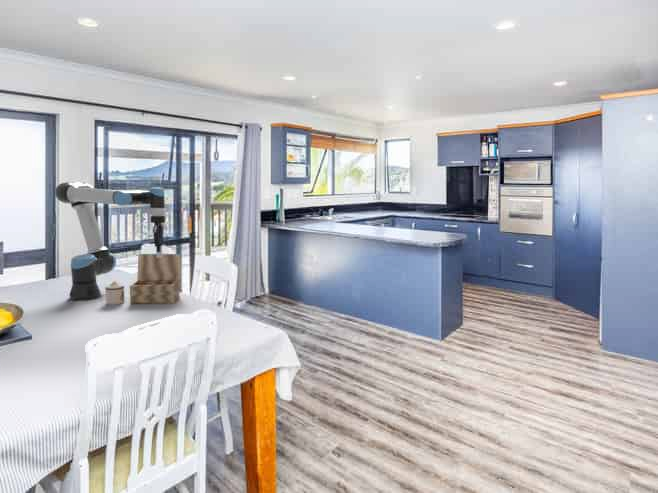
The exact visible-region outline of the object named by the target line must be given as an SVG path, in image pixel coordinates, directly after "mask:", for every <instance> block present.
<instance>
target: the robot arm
mask: <svg viewBox="0 0 658 493" xmlns="http://www.w3.org/2000/svg"><path fill="white" fill-rule="evenodd" d="M54 195H55V197H56V199H57V200H58V201H60V202H61V203H63V204H70V206H71V209H73V210H75V212H76V215H77V219H78V221H79V224H80V227H81V232H82V234H83V237H84V241H85V243H86V247H87V252H86V253H84V254H79V255H78V254H77V255H75V256H73V257H72V258H71V259H70V270H71V282H72V283H71V289H70V292H69V294H68V295H69V300H72V301H88V300H93V299H94V300H95V299H98V298H100V297H102V294H101V289H100V287H99V285H98V282H97V276H100V275H103V274H107V273H111V272H112V271H113V270H114V269H115V268H116V266H117V259H116V256H115V255H114V254H113V253H111V252H110V251H109V248H107V247H106V246H105V243H104V240H103V236H102V234H101V231H100V228H99V224H98V220H97V217H96V214H95V211H94V210H95V209H94V205H95V204H107V205H118V206H121V207H125V206H134V205H135V206H138V205H139V206H140V205H141V206H142V205H149V208H150V211H149V212H150V223H151V224H152V223H153V224H154V226H153V228H152V232H153V239H154V247H155V249H156V251H155V252H156V253H155V254H156V257H157V258H162V254H163V247H162V246H164V244H163V243H164V226H163V223H166V216H165V215H166V211H167V210H166V208H165V197H166V196H165V189H164V188H163V187H150V188H149V190H118V189H117V190H114V189H103V188H94V187H93V186H92V185H91V184H89V183H87V182H81V181H80V182H65V181H64V182H61V183H59V184H58V185H57V186H56V188H55V190H54Z"/></svg>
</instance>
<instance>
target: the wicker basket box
mask: <svg viewBox="0 0 658 493" xmlns="http://www.w3.org/2000/svg"><path fill="white" fill-rule="evenodd" d="M179 298H180V280H136V281H135V282H132V283H131V284H130V285H129V299H130V305H149V304H151V305H157V304H160V305H161V303H162V305H163V304H164V303H165V305H167V304H169V305H170V303H171V304H175V303H176V302H177V300H179Z"/></svg>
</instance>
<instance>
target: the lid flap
mask: <svg viewBox="0 0 658 493" xmlns="http://www.w3.org/2000/svg"><path fill="white" fill-rule="evenodd" d="M137 258H138V259H137V261H138V262H137V280H179V281H180V280H181V270H182V269H181V268H182V254H181V253H162V258H157V257H156V253H138V257H137ZM137 280H136V281H137Z"/></svg>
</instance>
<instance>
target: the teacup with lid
mask: <svg viewBox="0 0 658 493" xmlns="http://www.w3.org/2000/svg"><path fill="white" fill-rule="evenodd" d="M104 289H105V297H106V304H107V305H108V306H109V305H111V306H113V305H114V306H115V305H116V306H117V305H121V304H124V303H125V285H124V284H121V283H119V282H117V281H116V280H114V281H112V282H111V283H110V284H108V285H106V286H105V287H104Z"/></svg>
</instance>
